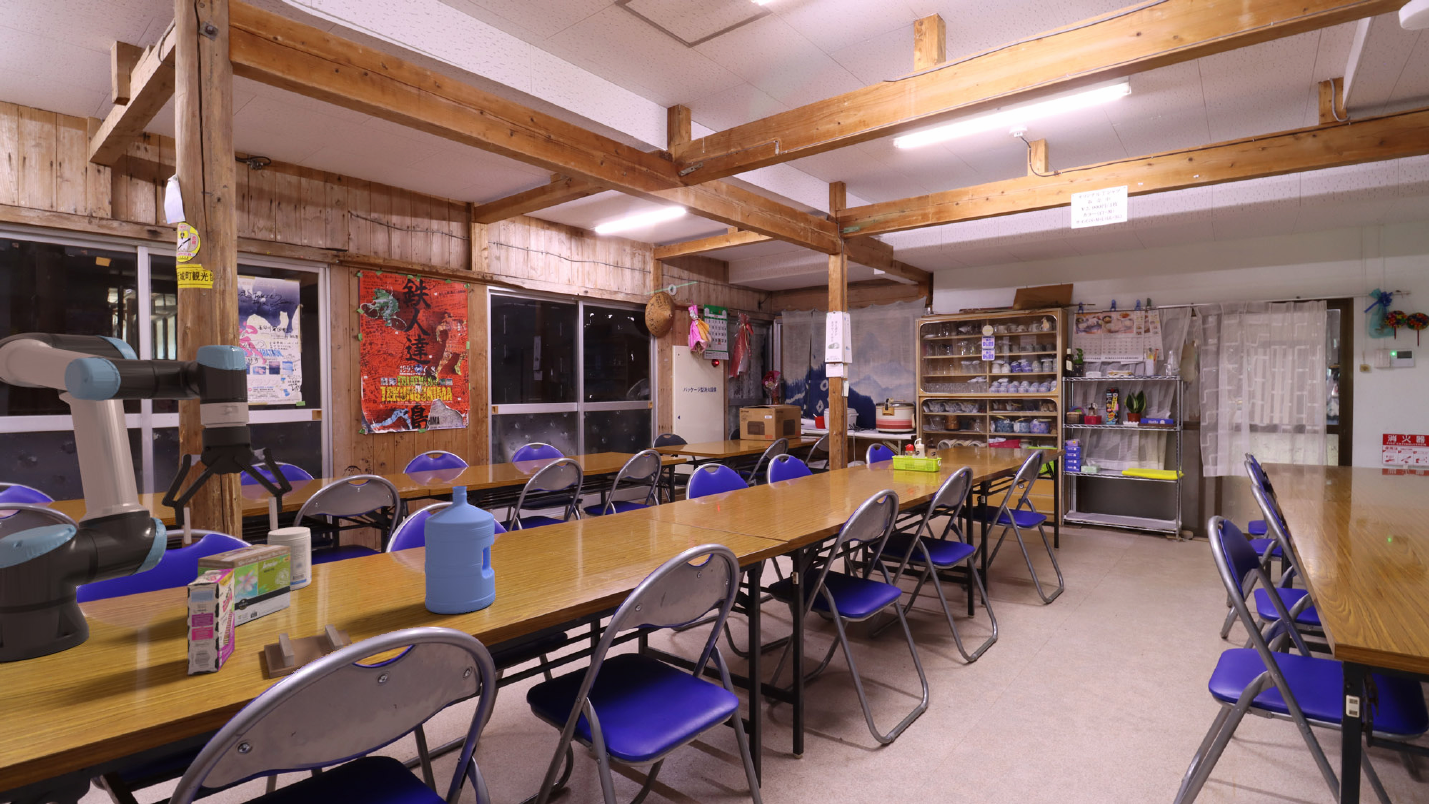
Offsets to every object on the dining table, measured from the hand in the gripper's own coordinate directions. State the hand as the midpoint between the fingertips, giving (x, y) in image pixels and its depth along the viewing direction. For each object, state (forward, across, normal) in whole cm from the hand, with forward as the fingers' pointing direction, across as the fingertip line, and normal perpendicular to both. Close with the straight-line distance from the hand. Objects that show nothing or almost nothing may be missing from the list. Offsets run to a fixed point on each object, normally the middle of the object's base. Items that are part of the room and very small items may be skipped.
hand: (232, 536), depth 127 cm
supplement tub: (+21, +18, +45) cm, 53 cm away
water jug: (+24, +43, 0) cm, 50 cm away
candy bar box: (+23, -4, 0) cm, 24 cm away
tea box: (+22, +6, +27) cm, 35 cm away
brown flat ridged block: (+24, +10, -9) cm, 27 cm away
